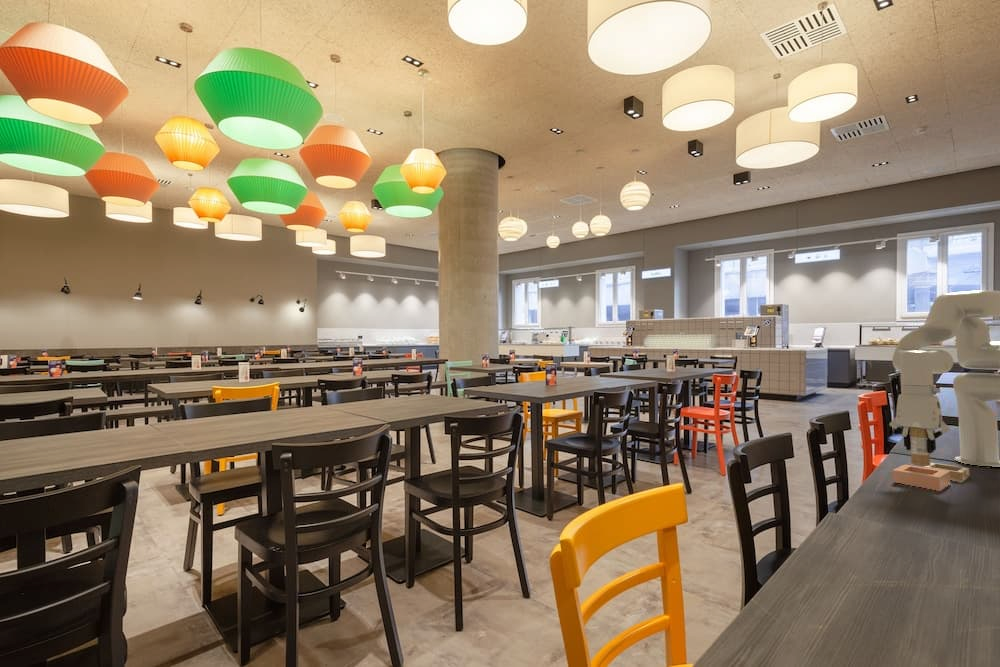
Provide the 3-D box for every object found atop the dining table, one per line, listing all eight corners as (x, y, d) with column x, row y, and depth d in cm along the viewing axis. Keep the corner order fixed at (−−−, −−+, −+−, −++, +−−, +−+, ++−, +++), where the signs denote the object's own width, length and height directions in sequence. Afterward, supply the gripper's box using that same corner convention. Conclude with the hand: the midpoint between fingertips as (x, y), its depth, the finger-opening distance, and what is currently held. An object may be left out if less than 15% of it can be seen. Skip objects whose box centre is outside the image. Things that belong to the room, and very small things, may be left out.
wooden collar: (932, 471, 157) (931, 462, 157) (969, 477, 150) (969, 467, 150) (923, 476, 152) (923, 466, 152) (962, 482, 145) (961, 472, 145)
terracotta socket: (904, 476, 152) (904, 464, 152) (950, 484, 143) (949, 471, 143) (893, 483, 146) (892, 470, 146) (939, 491, 137) (939, 477, 137)
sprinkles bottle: (931, 464, 144) (929, 420, 145) (929, 467, 141) (927, 421, 142) (911, 462, 148) (909, 418, 148) (909, 464, 145) (907, 420, 145)
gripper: (958, 392, 140) (960, 454, 140) (887, 388, 154) (889, 445, 154) (950, 393, 136) (953, 457, 136) (879, 390, 150) (881, 448, 149)
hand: (919, 450), depth 145 cm, fingers closed on sprinkles bottle, 4 cm apart
